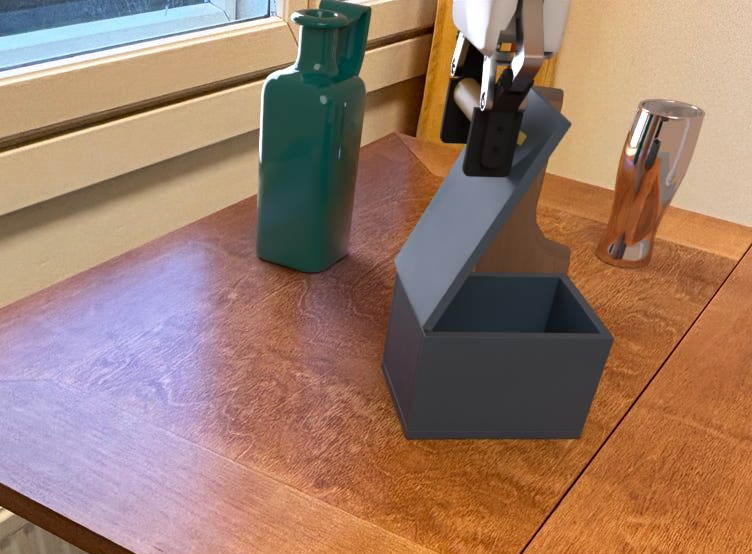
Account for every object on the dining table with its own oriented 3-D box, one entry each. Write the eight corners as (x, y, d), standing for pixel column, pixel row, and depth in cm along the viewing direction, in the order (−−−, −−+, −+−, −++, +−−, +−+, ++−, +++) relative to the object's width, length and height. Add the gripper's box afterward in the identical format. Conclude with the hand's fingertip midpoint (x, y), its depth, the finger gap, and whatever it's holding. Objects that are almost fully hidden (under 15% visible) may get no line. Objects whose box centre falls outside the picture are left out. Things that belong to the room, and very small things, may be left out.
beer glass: (627, 275, 97) (680, 122, 86) (578, 252, 101) (622, 102, 90) (666, 262, 100) (721, 113, 90) (617, 240, 104) (664, 94, 93)
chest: (537, 368, 81) (565, 272, 75) (579, 439, 73) (615, 338, 67) (380, 367, 80) (396, 269, 73) (405, 439, 72) (425, 336, 65)
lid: (520, 74, 64) (468, 38, 62) (572, 124, 56) (514, 84, 54) (400, 266, 73) (351, 239, 71) (430, 332, 65) (376, 304, 63)
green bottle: (316, 278, 92) (339, 25, 76) (247, 257, 95) (256, 8, 79) (359, 248, 98) (389, 8, 83) (294, 229, 101) (311, -7, 85)
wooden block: (559, 289, 94) (615, 94, 81) (557, 307, 90) (615, 107, 78) (473, 275, 95) (515, 81, 82) (469, 292, 92) (512, 94, 79)
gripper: (667, -176, 44) (562, 206, 57) (558, -197, 56) (492, 122, 69) (520, -187, 43) (448, 202, 56) (442, -205, 55) (397, 119, 68)
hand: (472, 155), depth 62 cm, fingers closed on lid, 6 cm apart
